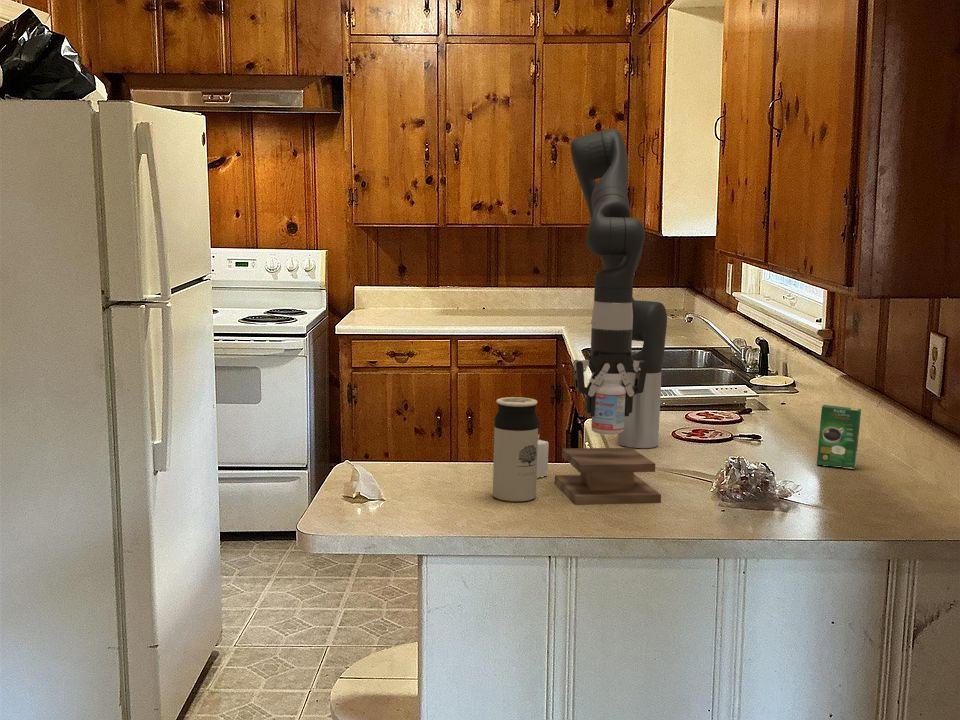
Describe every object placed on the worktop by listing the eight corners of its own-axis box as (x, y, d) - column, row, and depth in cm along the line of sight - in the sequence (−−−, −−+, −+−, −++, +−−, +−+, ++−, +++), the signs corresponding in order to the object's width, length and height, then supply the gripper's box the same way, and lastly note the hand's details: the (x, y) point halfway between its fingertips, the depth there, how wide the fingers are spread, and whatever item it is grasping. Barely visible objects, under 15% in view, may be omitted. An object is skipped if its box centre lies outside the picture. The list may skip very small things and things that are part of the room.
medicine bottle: (522, 470, 212) (523, 412, 211) (548, 476, 207) (550, 417, 206) (497, 475, 207) (499, 416, 206) (523, 482, 202) (525, 421, 201)
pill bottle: (585, 431, 194) (587, 372, 192) (602, 427, 198) (605, 369, 197) (612, 436, 190) (615, 375, 188) (630, 432, 195) (632, 372, 193)
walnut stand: (554, 482, 202) (555, 447, 201) (633, 481, 205) (635, 446, 204) (575, 504, 186) (576, 466, 186) (660, 502, 189) (662, 464, 188)
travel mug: (485, 493, 193) (488, 397, 190) (524, 490, 196) (527, 396, 194) (503, 504, 185) (506, 405, 183) (543, 500, 189) (546, 402, 186)
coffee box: (857, 468, 221) (862, 407, 219) (855, 470, 218) (860, 409, 217) (818, 463, 225) (822, 403, 223) (816, 466, 222) (820, 405, 220)
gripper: (579, 328, 187) (576, 419, 189) (656, 328, 189) (651, 419, 191) (569, 324, 194) (566, 412, 196) (642, 324, 197) (639, 411, 199)
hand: (608, 415), depth 194 cm, fingers closed on pill bottle, 6 cm apart
